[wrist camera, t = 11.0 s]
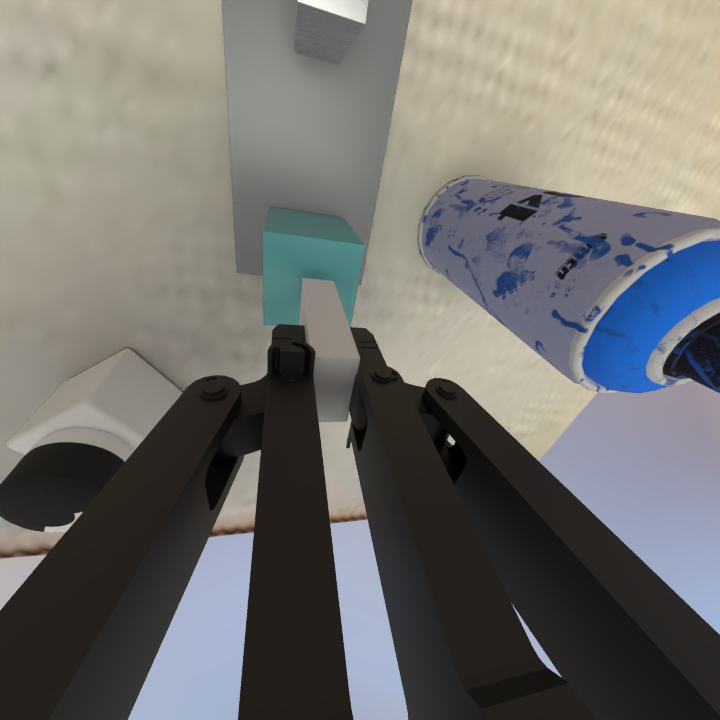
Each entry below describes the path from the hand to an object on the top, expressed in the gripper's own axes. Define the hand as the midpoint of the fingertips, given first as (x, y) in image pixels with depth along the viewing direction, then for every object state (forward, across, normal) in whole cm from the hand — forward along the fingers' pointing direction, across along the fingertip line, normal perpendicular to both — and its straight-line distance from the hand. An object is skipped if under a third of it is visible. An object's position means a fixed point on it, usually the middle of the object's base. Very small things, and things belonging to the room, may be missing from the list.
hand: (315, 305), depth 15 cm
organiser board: (+11, 0, +6) cm, 13 cm away
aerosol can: (+11, +13, +3) cm, 17 cm away
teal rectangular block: (+10, 0, 0) cm, 10 cm away
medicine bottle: (+11, -15, -15) cm, 24 cm away
